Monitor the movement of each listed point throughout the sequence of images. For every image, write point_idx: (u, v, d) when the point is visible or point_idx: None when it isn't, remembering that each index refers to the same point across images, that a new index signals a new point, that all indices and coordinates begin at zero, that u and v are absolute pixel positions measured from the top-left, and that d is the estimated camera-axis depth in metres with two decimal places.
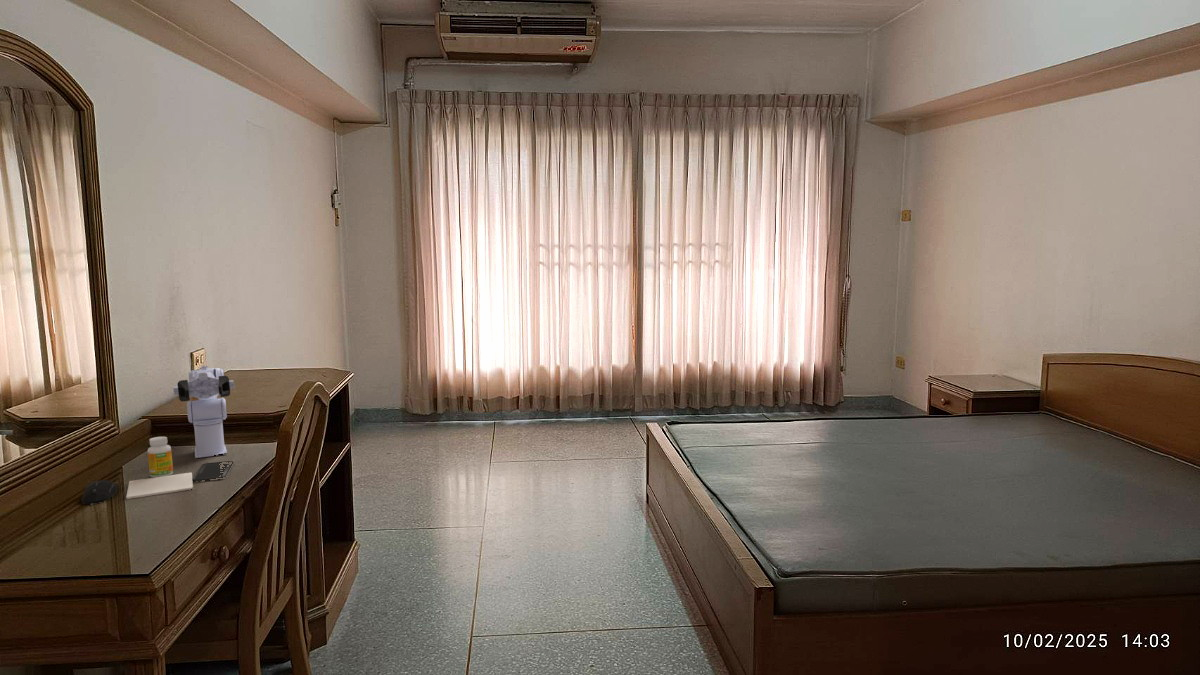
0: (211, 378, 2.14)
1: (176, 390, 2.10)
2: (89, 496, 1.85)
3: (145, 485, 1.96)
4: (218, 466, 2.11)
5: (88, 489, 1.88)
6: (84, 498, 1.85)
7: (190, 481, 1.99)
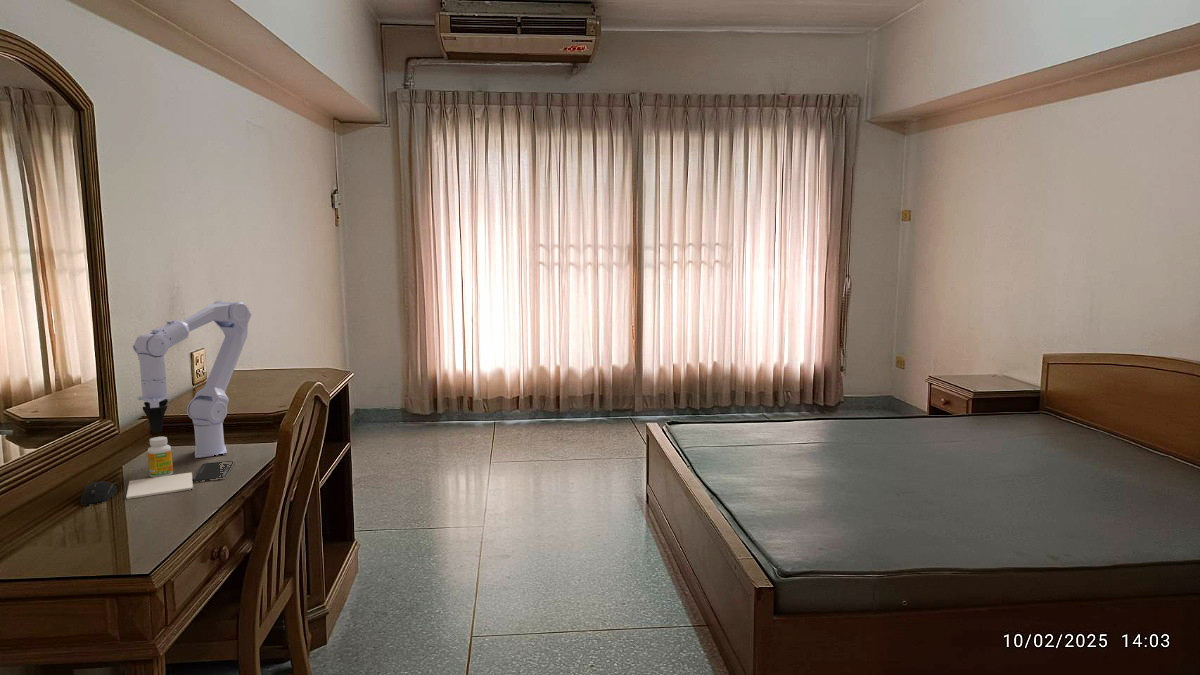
0: (145, 400, 2.08)
1: None
2: (88, 497, 1.85)
3: (145, 485, 1.96)
4: (218, 466, 2.11)
5: (87, 490, 1.87)
6: (83, 499, 1.85)
7: (190, 481, 1.99)
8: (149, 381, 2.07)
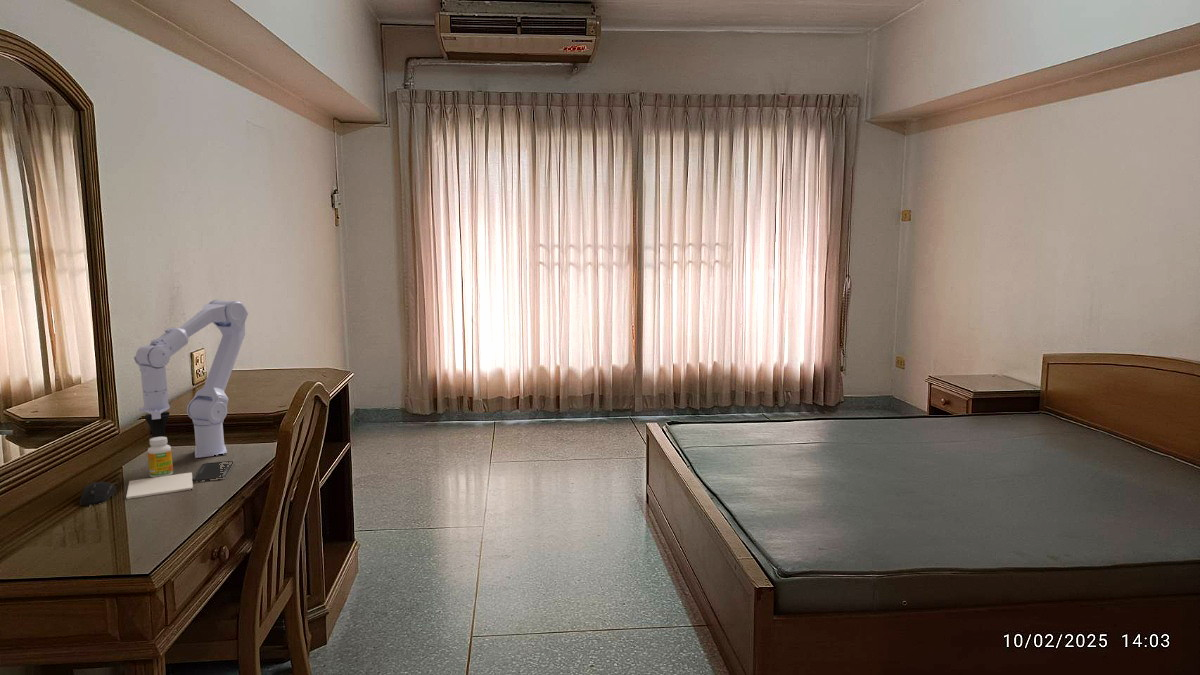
0: (146, 411, 2.08)
1: None
2: (87, 498, 1.85)
3: (145, 485, 1.96)
4: (218, 466, 2.11)
5: (86, 490, 1.87)
6: (82, 500, 1.85)
7: (190, 481, 1.99)
8: (151, 392, 2.08)
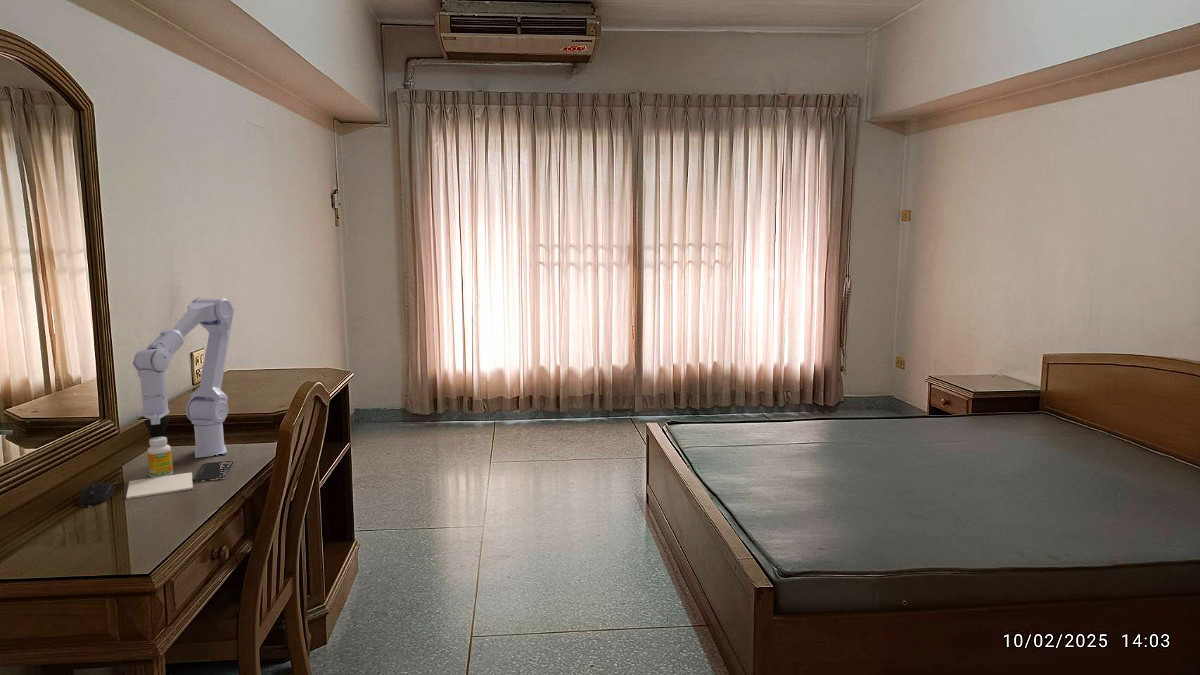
0: (146, 416, 2.04)
1: None
2: (87, 498, 1.84)
3: (145, 485, 1.96)
4: (218, 466, 2.11)
5: (85, 491, 1.87)
6: (81, 500, 1.84)
7: (190, 481, 1.99)
8: (150, 397, 2.03)
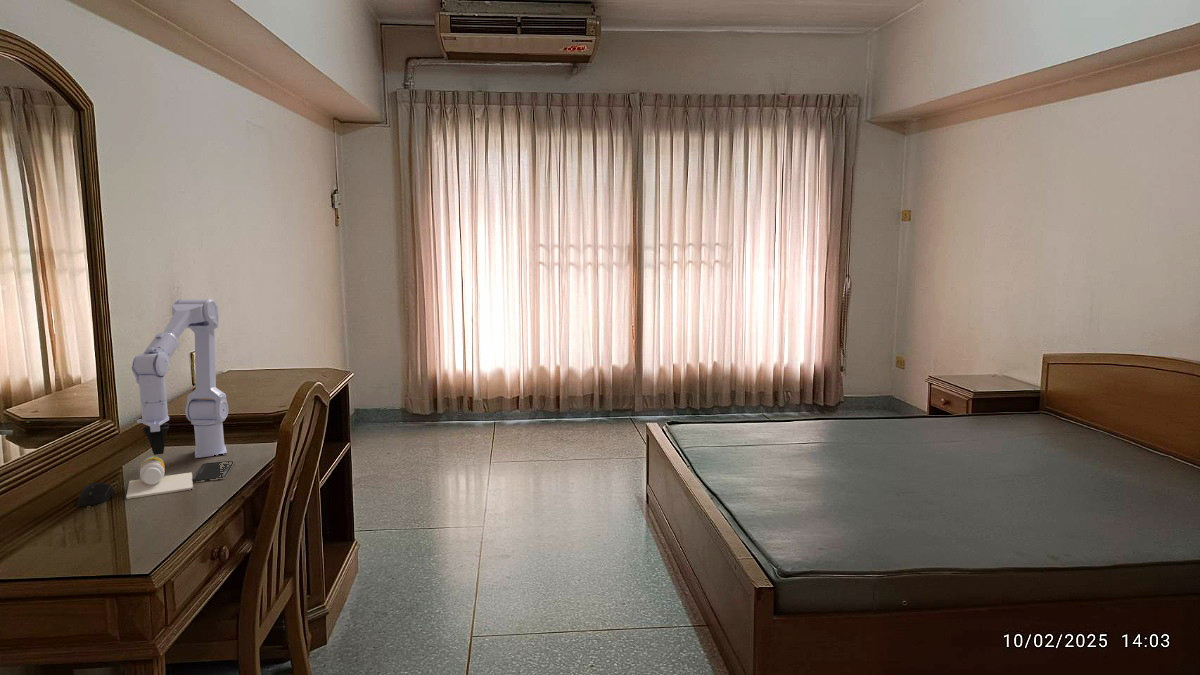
0: (145, 423, 1.97)
1: None
2: (86, 499, 1.84)
3: (145, 485, 1.96)
4: (218, 466, 2.11)
5: (84, 491, 1.86)
6: (80, 501, 1.84)
7: (190, 481, 1.99)
8: (149, 403, 1.96)
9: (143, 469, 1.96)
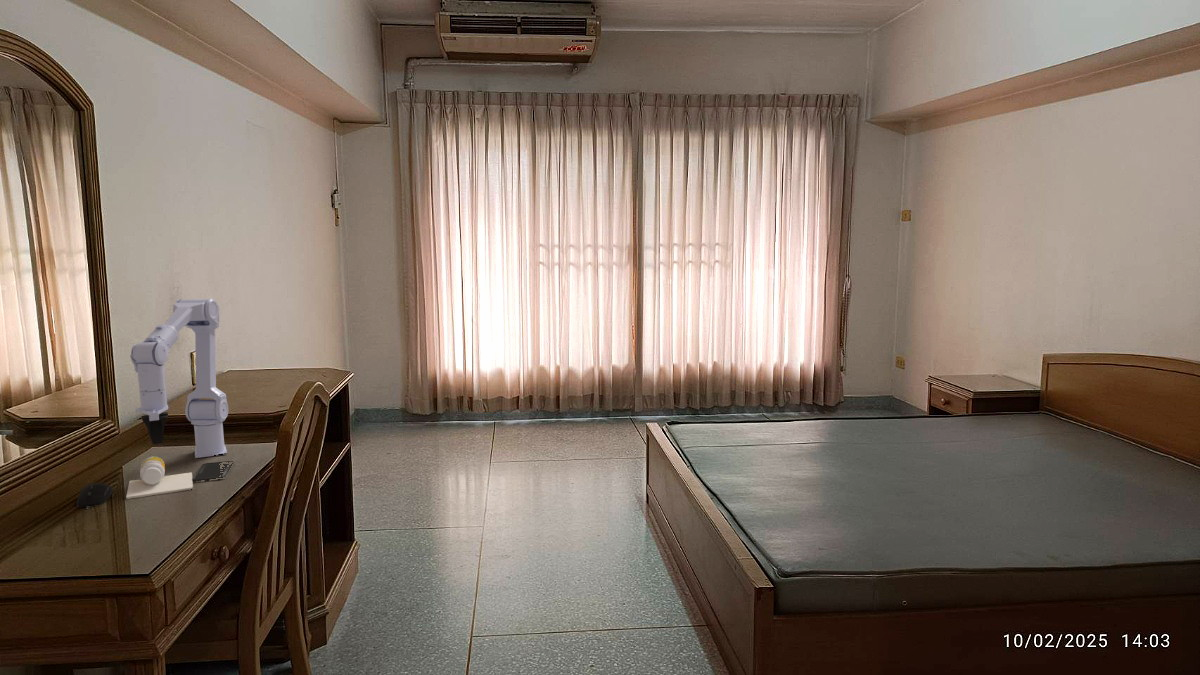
0: (144, 412, 1.96)
1: None
2: (85, 499, 1.83)
3: (145, 485, 1.96)
4: (218, 466, 2.11)
5: (83, 492, 1.86)
6: (79, 501, 1.83)
7: (190, 481, 1.99)
8: (148, 392, 1.95)
9: (143, 469, 1.96)
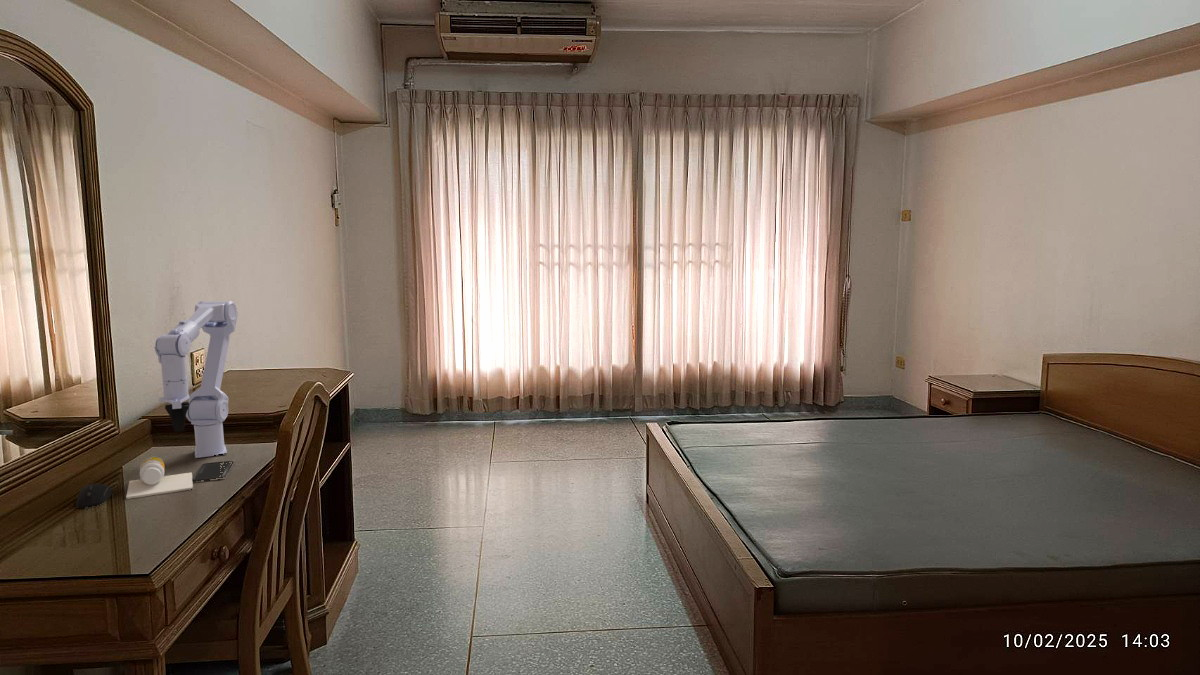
0: (166, 401, 2.06)
1: None
2: (84, 500, 1.83)
3: (145, 485, 1.96)
4: (218, 466, 2.11)
5: (82, 492, 1.85)
6: (78, 502, 1.83)
7: (190, 481, 1.99)
8: (171, 382, 2.05)
9: (143, 469, 1.96)
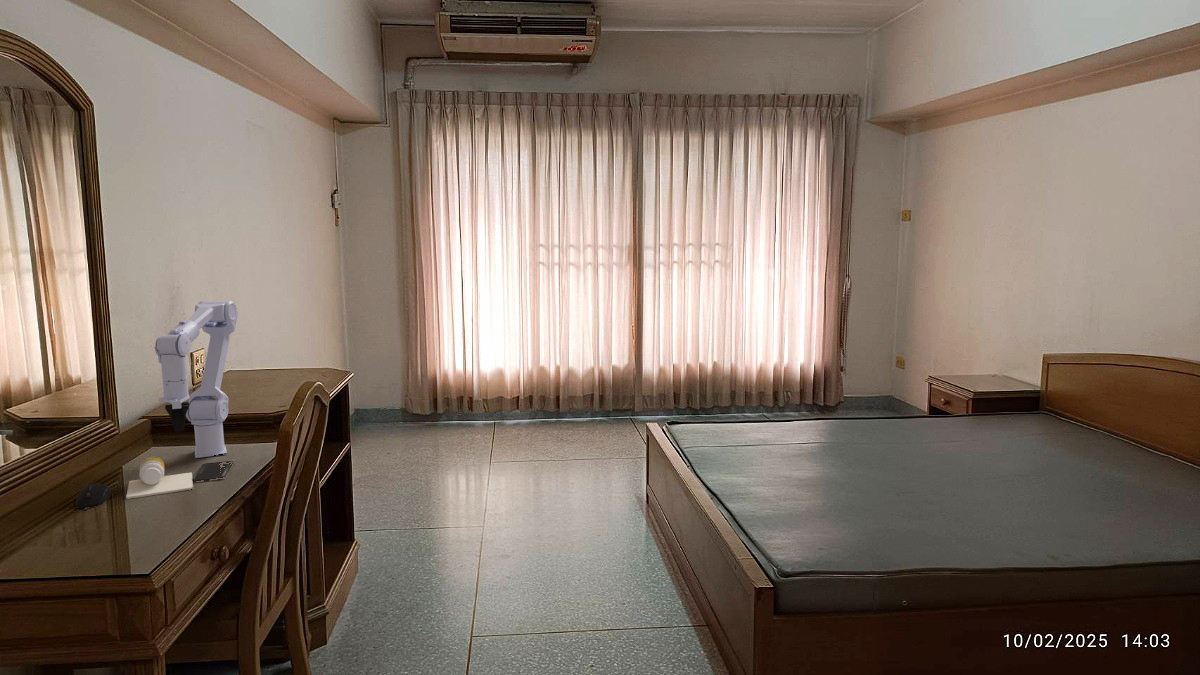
0: (166, 401, 2.06)
1: None
2: (83, 500, 1.83)
3: (145, 485, 1.96)
4: (218, 466, 2.11)
5: (82, 492, 1.85)
6: (78, 502, 1.83)
7: (190, 481, 1.99)
8: (171, 382, 2.05)
9: (143, 469, 1.96)
